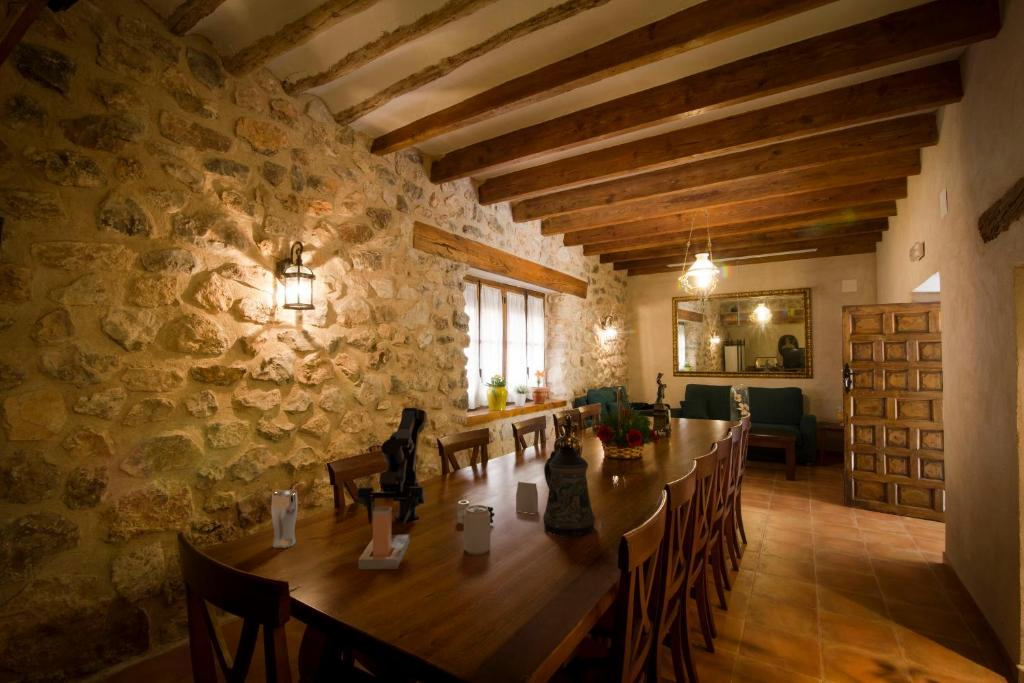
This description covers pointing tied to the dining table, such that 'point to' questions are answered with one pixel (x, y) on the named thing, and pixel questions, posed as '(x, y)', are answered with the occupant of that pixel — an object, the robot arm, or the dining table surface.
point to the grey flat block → (385, 562)
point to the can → (477, 529)
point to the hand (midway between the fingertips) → (386, 523)
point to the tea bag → (527, 497)
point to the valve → (462, 509)
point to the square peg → (382, 531)
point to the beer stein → (567, 495)
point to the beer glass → (284, 517)
